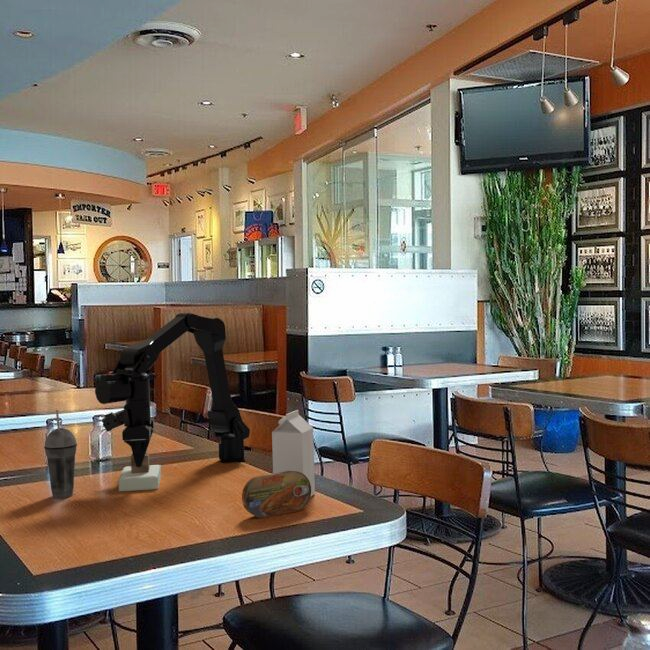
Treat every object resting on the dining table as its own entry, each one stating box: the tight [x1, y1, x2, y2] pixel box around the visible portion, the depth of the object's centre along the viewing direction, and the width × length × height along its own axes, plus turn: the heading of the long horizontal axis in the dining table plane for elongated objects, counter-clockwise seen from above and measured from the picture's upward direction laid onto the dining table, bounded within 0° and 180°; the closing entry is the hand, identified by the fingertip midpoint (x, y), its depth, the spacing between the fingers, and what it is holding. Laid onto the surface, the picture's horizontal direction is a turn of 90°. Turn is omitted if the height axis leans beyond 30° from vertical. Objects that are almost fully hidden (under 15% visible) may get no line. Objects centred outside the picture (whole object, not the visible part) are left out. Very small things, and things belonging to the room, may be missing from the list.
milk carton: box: [271, 409, 316, 498], centre depth 178 cm, size 7×7×19 cm
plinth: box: [117, 464, 162, 492], centre depth 196 cm, size 9×14×3 cm, turn 9°
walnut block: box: [130, 452, 150, 473], centre depth 196 cm, size 4×4×4 cm
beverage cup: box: [43, 409, 78, 499], centre depth 185 cm, size 7×7×20 cm
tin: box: [241, 471, 312, 519], centre depth 166 cm, size 15×3×8 cm, turn 120°
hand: (140, 462), depth 196 cm, fingers open, 9 cm apart
